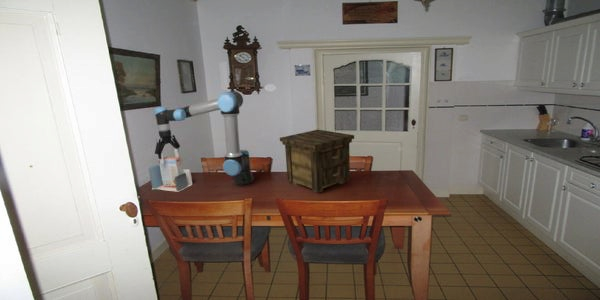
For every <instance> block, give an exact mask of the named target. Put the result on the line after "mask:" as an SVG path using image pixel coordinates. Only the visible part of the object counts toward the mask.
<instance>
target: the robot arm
mask: <svg viewBox="0 0 600 300" xmlns="http://www.w3.org/2000/svg"><path fill="white" fill-rule="evenodd" d="M243 104H244V97H243V95H242V94H241V93H240V92H238V91H236V90H235V91H234V90H233V91H226V92H224V93H221V94H220V95H219V96H218V97H217V98H215V99H210V100H207V101H206V100H205V101H203V102H198V103H195V104H191V105H187V106H183V107H179V108H174V109H167V107H166V106H158V107H156V108H154V116H155V120H156V126H157V130H158V135H159V138H157V139H156V143H155V144H156V145H155V149H154V154H155V155H157V157H158V160H159V159H160V163H164V159H163V157H164V156H163V155H164V154H163V150H164V147H165V146H166V145H167V144H170V145H171V146H172V147H173V151H174V157H180V154H179V153H180V152H179V149H180V147H181V145H180V143H179V141H178V140H177V138H176V136H175V135H174V134H172V131H171V126H170V122H181V121H185V120H186V119H187V118H192V117H195V116H199V115H203V114H207V113H212V112H215V111H220V115H221V116H222V117H223V122H224V123H223V125H224V137H225V149H226V153H224V162H223V164H222V170H223V171H224V173H225V174H227V175H228V176H231V177H232V176H233V177H232V184H234V185H237V186H238V185H239V186H241V185H242V186H244V185H248V184H251V183H253V182H254V181H255V179H254V178H255V177H254V176H253V173H252V171H251V162H250V152H249V150H247V149H240V137H239V136H240V135H239V123H238V122H239V120H238V119H239V118H238V116H239V115H240V108H241V106H243Z"/></svg>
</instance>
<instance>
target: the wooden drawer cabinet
mask: <svg viewBox="0 0 600 300" xmlns="http://www.w3.org/2000/svg"><path fill="white" fill-rule="evenodd" d="M353 140H355V134H347V133H342V132H337V131H330V130H325V129H324V130H322V129H314V130H309V131H304V132H300V133H296V134H291V135H287V136H283V137H279V141H280V142H281V143H282V144H281V145H284V149H285V150H284V152H285V163H286V165H285V167H286V178H287V181H288V182H292V184H293V185H296V186H298V185H301V186H305V187H307V188H309V189H311V190H312V192H314V193H317V194H319V193H321V192H323V191H324V189H325V188H327V187H330V186H334V185H335V184H339V185H341V184H344V183H346V181H349V180H350V179H351V177H350V176H351V171H350V170H351V169H350V168H351V167H350V161H351V159H350V155H351V154H350V143H352V142H353Z"/></svg>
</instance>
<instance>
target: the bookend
mask: <svg viewBox="0 0 600 300" xmlns="http://www.w3.org/2000/svg"><path fill="white" fill-rule="evenodd" d="M175 183H176V189H177V191H179V192H180V190H181V191H183V190H185V189H186V187H187V188H189V187H188V184H187V177H186V173H183V174H180V175H178V176H176V177H175ZM184 188H185V189H184ZM182 189H183V190H182Z"/></svg>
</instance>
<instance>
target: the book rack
mask: <svg viewBox="0 0 600 300" xmlns="http://www.w3.org/2000/svg"><path fill="white" fill-rule="evenodd" d="M182 170H183V173H186V177H187V184H188V187H186V188H189V187H190V186H193V180H192V179H193V178H192V172H191V169H185V168H182ZM148 173H149V177H150V178H149V179H150V184H151V187H152V188H151V190H162V191H166V192H167V191H169V192H180V191H183V190H185V189H186V188H184V189H182V190H180V191H177V189H176V188H175V187H163V181H162V176H161V170H160V164H159V163H158V164H156V165H153V166H150V167H148Z"/></svg>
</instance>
